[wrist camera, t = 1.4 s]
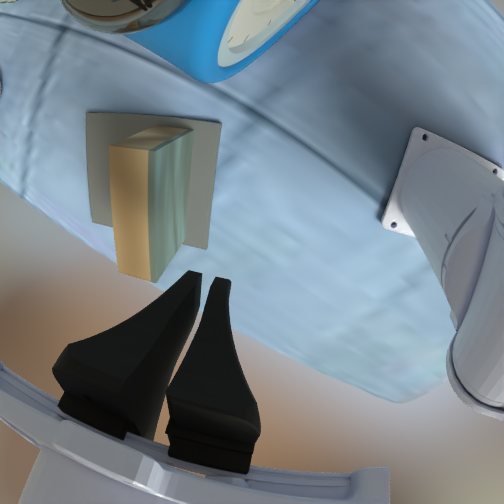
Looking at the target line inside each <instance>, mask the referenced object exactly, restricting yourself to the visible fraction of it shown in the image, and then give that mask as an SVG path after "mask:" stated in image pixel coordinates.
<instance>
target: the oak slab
mask: <svg viewBox="0 0 504 504" xmlns="http://www.w3.org/2000/svg"><path fill="white" fill-rule="evenodd" d="M193 138H194V130H191V129H183V128H175V127H166V126H154V127H151V128H149V129H146V130H144V131H142V132H139V133H137V134H135V135H132V136H130V137H128V138H125V139H123V140H121V141H119V142H117V143H115V144H112V145H110V146H109V171H110V192H111V207H112V219H113V230H114V239H115V248H116V256H117V263H118V270H119V272H120V273H123V274H126V275H129V276H133V277H136V278H140V279H143V280H146V281H150V282H153V283H157V281H158V280H159V278H160V277H161V275H162V274H163V272H164V270H165V269H166V267H167V266H168V264H169V263H170V261H171V260H172V258H173V257H174V255H175V254H176V252H177V251H178V249H179V248H180V246H181V245H182V243H183V242H184V240H185V239H186V229H187V211H188V196H189V182H190V170H191V158H192V148H193Z"/></svg>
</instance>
